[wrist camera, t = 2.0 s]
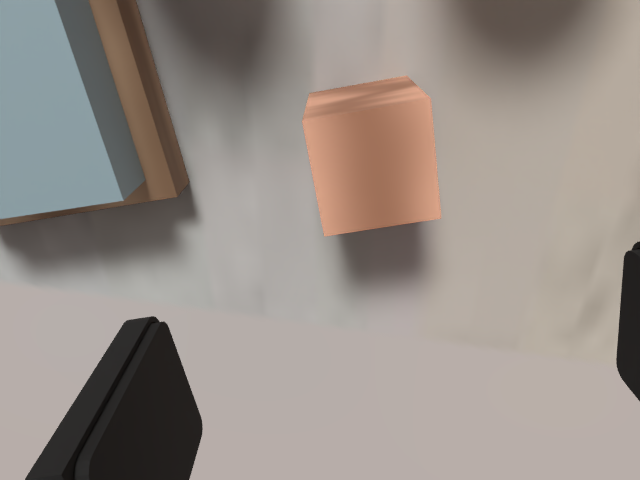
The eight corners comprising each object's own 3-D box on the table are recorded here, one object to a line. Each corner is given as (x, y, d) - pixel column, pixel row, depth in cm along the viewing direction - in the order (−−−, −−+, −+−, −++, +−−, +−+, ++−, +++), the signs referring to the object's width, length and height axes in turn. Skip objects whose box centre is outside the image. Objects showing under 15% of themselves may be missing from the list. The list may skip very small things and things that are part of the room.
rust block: (406, 75, 26) (431, 98, 19) (416, 169, 28) (441, 218, 21) (309, 93, 26) (302, 121, 20) (325, 184, 28) (324, 236, 22)
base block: (120, -63, 24) (94, -71, 21) (191, 178, 29) (177, 196, 26) (-110, -13, 25) (-164, -15, 22) (-4, 211, 30) (-38, 231, 27)
